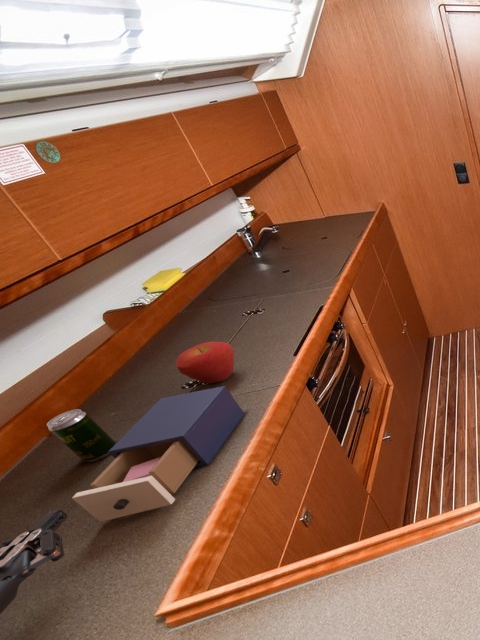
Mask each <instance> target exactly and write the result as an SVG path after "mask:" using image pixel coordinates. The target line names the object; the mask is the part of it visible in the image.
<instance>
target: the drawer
mask: <svg viewBox="0 0 480 640" xmlns="http://www.w3.org/2000/svg"><path fill="white" fill-rule="evenodd" d="M159 457H160V459H159V460H158V462H157V463H156V464H155V465H154V466H153V467H152V469H151V470H150V471H149V474H150V475H151V476H148V477H144V478H139V479H135V480H131V481H126V482H123V481H124V479H125V477H126V476H127V474H128V472H129V470H130V469H131V467H133V466H135V465H138V464H141V463H144V462H147V461H150V460H153V459H156V458H159ZM198 461H199V460H198V459H197V458H196V457H195V456H194V454H193V453H192V452H191V451H190V450H189V449H188V448H187V446H186V445H185V444H184V443H183V442H182V441H181V439H180V440H176V441H171V442H166V443H161V444H157V445H152V446H147V447H143V448H138V449H133V450H128V451H124V452H121V453H120V455H119V456H118V457H117V458H116V459H115V458H114V460H113V461H112V462H111V463H110V464H109V465H108V466H107V467H106V468H105V469H104V470H103V471H102V472H101V473H100V474H99V475H98V476H97V477H96V478H95V479H94V481H93V482H91V484H89V486H90V487H91V488H92V489H87V490H82V491H78V492H76V493H75V494H74V495H73V496H72V497H71V499H72V500H73V501H74V502H76V503H77V504H78V505H79V506H80V507H81V508H83V509H84V510H85V511H86V512H87V513H89V514H90V515H91V516H92V517H93V518H95V519H96V520H97V521H99V522H100V523H101V522H105V521H110V520H113V519H118V518H122V517H126V516H130V515H134V514H138V513H143V512H147V511H151V510H155V509H159V508H163V507H167V506H172V505H173V503H174V502H175V501H176V498H175V497H174V496H173V495H174V494H175V493H176V492H177V491H178V489H179V488H180V487H181V485H182V484H183V483H184V481H185V480H186V479H187V477H188V476H189V474H191V472H192V471H193V469H195V468H194V467H195V465H196V464H197V463H198Z"/></svg>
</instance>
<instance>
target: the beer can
mask: <svg viewBox="0 0 480 640" xmlns="http://www.w3.org/2000/svg"><path fill="white" fill-rule="evenodd" d="M46 427H48V428H47V429H48V430H49V432H51V433H52V434H53V435H54V436H55V437H56V438H57V439H59V441H61V442H62V443H63V444H64V445H65V446H66V447H67V448H68V449H70V450H71V452H73V453H74V454H75V455H76V456H77V457H78V458H80V460H82V462H88V463H93V462H96V461H99V460H101V459H104V458H105V457H107V456H109V455H111V454H110V453H109V452H108V451H109V450H110V449H111V448H112V447H113V446H114V445H115V444H116V443H117V442H116V441H115V440H114V439H113V438H112V437H111V436H110V435H109V434H108V433H107V432H106V431H105V430H104V429H103V428H102V427H101V426H100V425H99V424H98V423H97V422H96V421H95V420H94V419H93V418H92V417H91V416H90V415H89V414H88V413H86V411H82V409H79V408H76V409H72V410H68V411H65V412H62V413H61V414H60V413H59V414H58V415H56V416H54V417H52V418H51V419H50V420H49V421H48V422H47V423H46Z"/></svg>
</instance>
